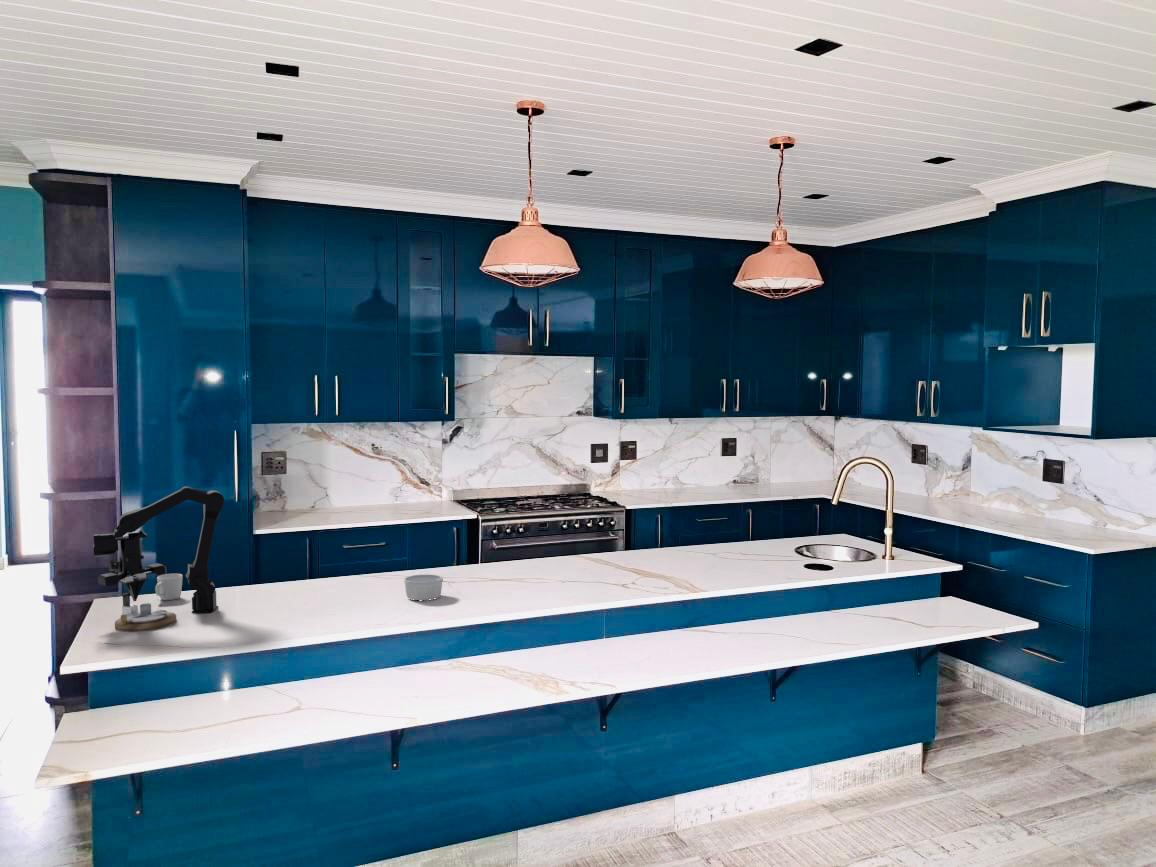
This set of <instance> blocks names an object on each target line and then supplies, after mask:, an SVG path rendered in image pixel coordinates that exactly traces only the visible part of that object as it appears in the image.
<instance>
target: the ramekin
mask: <svg viewBox="0 0 1156 867" xmlns="http://www.w3.org/2000/svg"><path fill="white" fill-rule="evenodd" d="M403 583H404V586H405V587H404V588H405V594H406V597H407V599H409V598H410V599H414V600H429V599H434V598H438V597H439V598H440V597H441V594H442V588H443V587H442V586H443V583H444V578H443V576H441V575H438V574H430V573H427V574H426V573H425V574H413V575H409V576H406V577H405V578H404V579H403ZM439 598H438V599H439ZM410 599H409V600H410Z"/></svg>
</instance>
